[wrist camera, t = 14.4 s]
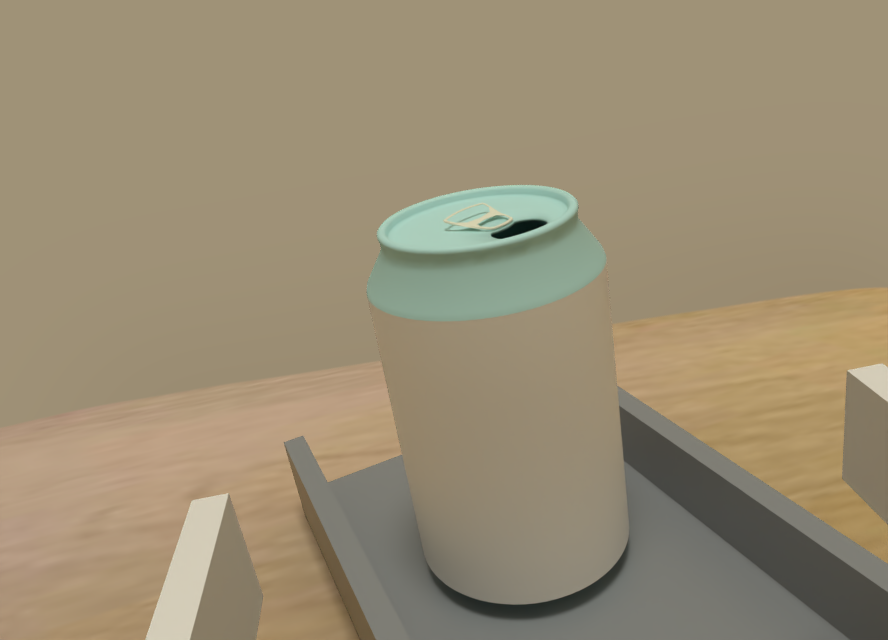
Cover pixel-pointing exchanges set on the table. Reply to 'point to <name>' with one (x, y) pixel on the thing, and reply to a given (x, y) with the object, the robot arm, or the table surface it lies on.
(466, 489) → the can
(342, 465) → the table surface
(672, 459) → the duct channel
